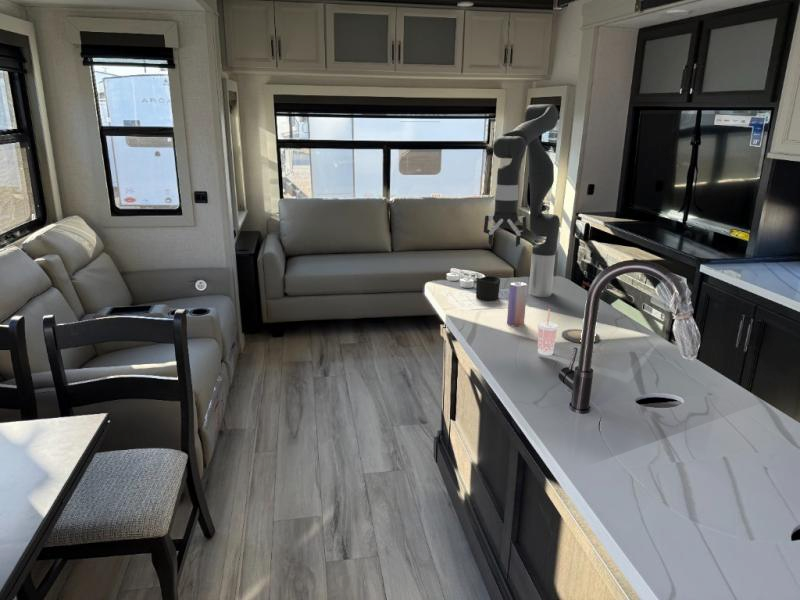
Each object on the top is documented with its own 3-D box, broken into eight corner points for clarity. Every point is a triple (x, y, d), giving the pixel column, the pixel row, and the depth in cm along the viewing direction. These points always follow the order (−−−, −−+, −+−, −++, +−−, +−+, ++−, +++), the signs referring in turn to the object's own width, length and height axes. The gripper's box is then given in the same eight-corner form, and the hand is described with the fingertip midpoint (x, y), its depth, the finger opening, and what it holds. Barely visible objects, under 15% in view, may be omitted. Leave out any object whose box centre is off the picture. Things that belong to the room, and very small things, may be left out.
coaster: (570, 329, 195) (570, 326, 195) (604, 336, 188) (604, 334, 187) (556, 337, 186) (556, 335, 185) (591, 346, 179) (592, 343, 178)
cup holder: (442, 285, 253) (442, 269, 251) (462, 282, 257) (463, 267, 255) (466, 295, 236) (467, 279, 234) (488, 293, 240) (489, 276, 238)
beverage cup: (559, 352, 173) (563, 309, 169) (549, 357, 168) (553, 313, 165) (541, 347, 177) (545, 305, 173) (531, 352, 172) (535, 309, 169)
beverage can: (505, 325, 197) (508, 284, 193) (508, 321, 203) (511, 280, 198) (522, 328, 195) (525, 286, 191) (525, 323, 200) (528, 282, 196)
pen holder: (475, 298, 231) (476, 275, 228) (498, 300, 229) (499, 276, 227) (475, 305, 222) (476, 280, 219) (498, 306, 220) (500, 281, 218)
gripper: (528, 197, 189) (525, 244, 194) (485, 196, 192) (483, 242, 197) (528, 200, 182) (525, 248, 187) (484, 199, 185) (482, 247, 190)
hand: (504, 245), depth 192 cm, fingers open, 8 cm apart
